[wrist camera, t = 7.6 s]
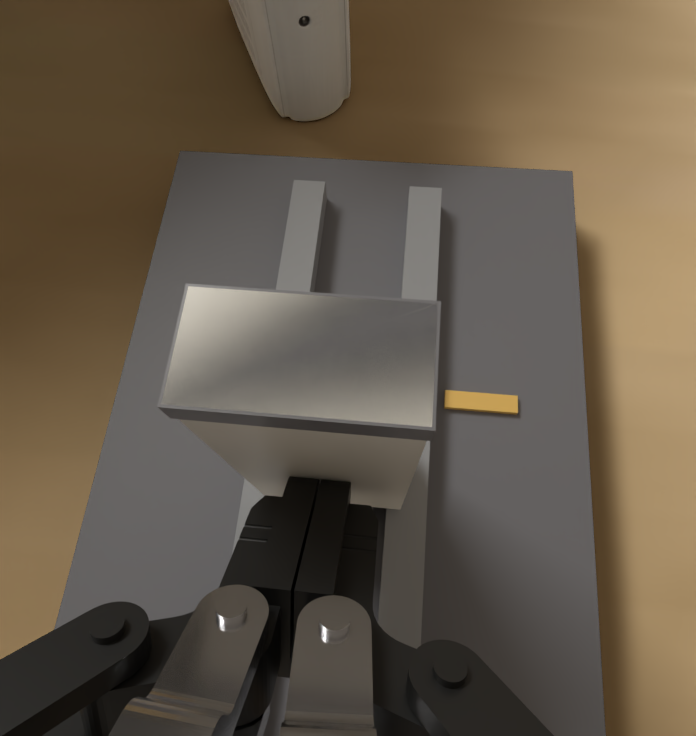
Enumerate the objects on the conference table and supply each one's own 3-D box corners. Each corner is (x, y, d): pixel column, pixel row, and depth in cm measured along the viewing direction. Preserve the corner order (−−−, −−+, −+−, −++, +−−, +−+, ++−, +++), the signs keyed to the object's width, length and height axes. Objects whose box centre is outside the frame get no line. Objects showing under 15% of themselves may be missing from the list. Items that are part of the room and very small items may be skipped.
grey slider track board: (22, 917, 16) (-65, 1000, 13) (197, 190, 26) (172, 132, 22) (586, 1003, 15) (646, 1117, 12) (553, 210, 25) (581, 153, 21)
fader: (268, 518, 18) (150, 436, 8) (282, 426, 19) (191, 259, 9) (399, 531, 17) (433, 462, 8) (404, 437, 18) (442, 276, 9)
